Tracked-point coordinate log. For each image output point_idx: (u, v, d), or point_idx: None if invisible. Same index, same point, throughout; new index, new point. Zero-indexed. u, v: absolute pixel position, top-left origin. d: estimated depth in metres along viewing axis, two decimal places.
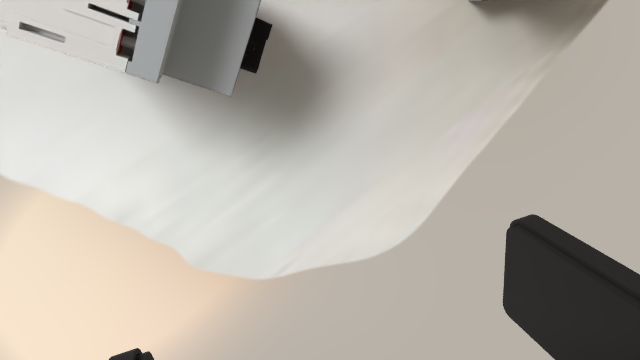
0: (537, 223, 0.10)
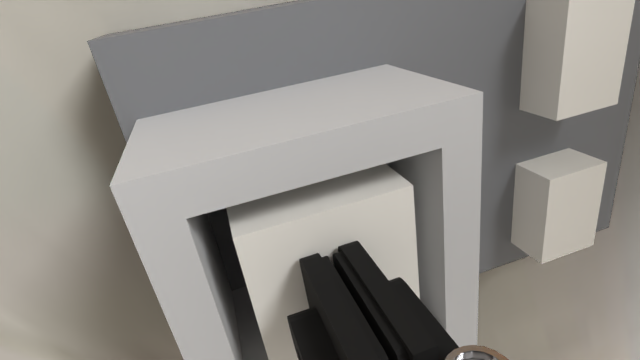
0: (354, 250, 0.10)
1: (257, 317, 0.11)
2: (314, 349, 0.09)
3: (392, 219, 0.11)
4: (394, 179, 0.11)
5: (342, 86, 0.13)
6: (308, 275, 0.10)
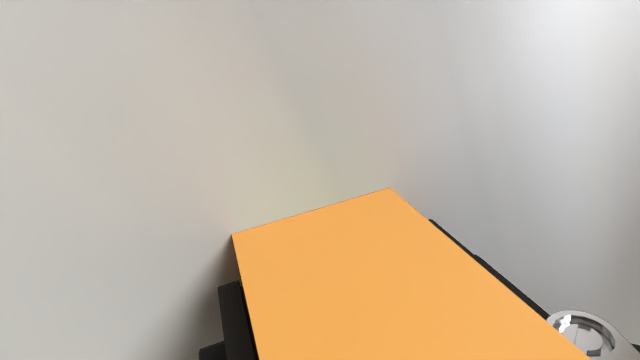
0: None
1: None
2: None
3: None
4: None
5: None
6: (220, 307, 0.09)
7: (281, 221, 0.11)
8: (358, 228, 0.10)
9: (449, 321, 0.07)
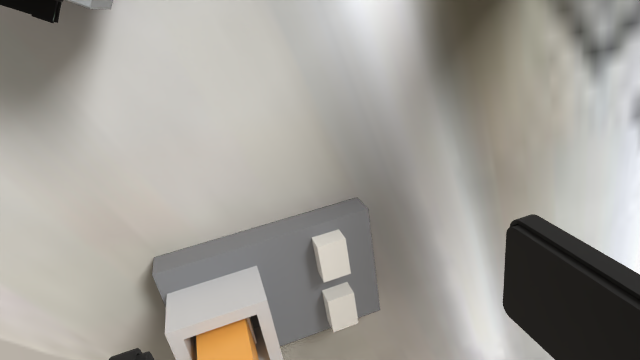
0: (537, 223, 0.10)
1: None
2: None
3: None
4: None
5: (235, 283, 0.39)
6: None
7: None
8: (228, 324, 0.37)
9: (235, 351, 0.34)
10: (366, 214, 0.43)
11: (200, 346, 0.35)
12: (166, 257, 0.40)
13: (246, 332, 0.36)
